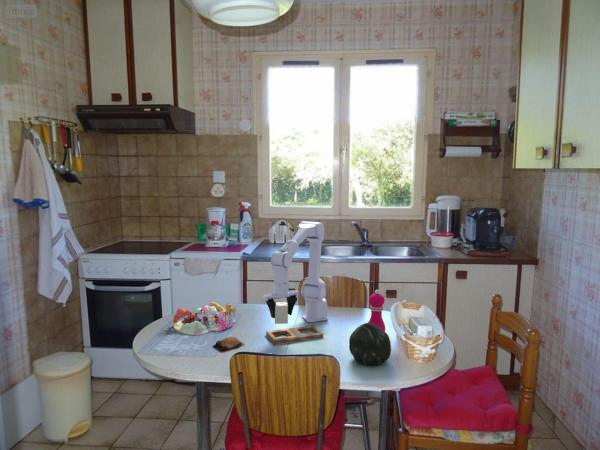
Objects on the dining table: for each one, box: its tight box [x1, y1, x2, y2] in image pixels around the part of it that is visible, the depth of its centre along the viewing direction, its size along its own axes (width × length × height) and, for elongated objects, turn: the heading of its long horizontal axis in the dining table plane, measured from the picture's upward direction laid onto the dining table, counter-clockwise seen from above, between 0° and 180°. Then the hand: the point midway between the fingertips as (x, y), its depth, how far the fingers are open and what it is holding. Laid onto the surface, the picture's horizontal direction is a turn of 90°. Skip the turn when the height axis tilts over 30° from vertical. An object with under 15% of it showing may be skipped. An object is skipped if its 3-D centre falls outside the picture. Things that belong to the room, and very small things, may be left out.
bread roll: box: [212, 336, 246, 353], centre depth 164 cm, size 11×9×4 cm
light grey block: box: [274, 301, 289, 325], centre depth 169 cm, size 5×5×7 cm
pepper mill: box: [367, 289, 386, 332], centre depth 169 cm, size 7×7×20 cm
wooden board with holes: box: [265, 324, 324, 346], centre depth 173 cm, size 20×10×2 cm, turn 111°
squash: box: [348, 322, 392, 366], centre depth 150 cm, size 14×15×15 cm
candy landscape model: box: [172, 301, 237, 336], centre depth 185 cm, size 25×24×9 cm
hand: (281, 315), depth 170 cm, fingers closed on light grey block, 7 cm apart
